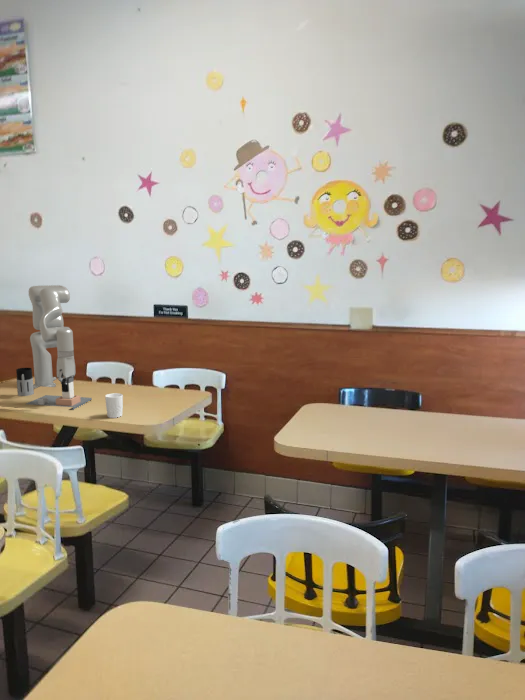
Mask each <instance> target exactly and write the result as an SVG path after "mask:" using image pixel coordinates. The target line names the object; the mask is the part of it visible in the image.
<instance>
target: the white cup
mask: <svg viewBox="0 0 525 700" xmlns="http://www.w3.org/2000/svg"><path fill="white" fill-rule="evenodd" d="M104 397H105V408H106V416H107V418H110V419H118V418H121V417H123V409H124V408H123V405H124V395H123V394H122V393H119V392H118V393H117V392H115V393H107V394H105V395H104ZM120 416H121V417H120ZM117 417H118V418H117Z"/></svg>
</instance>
